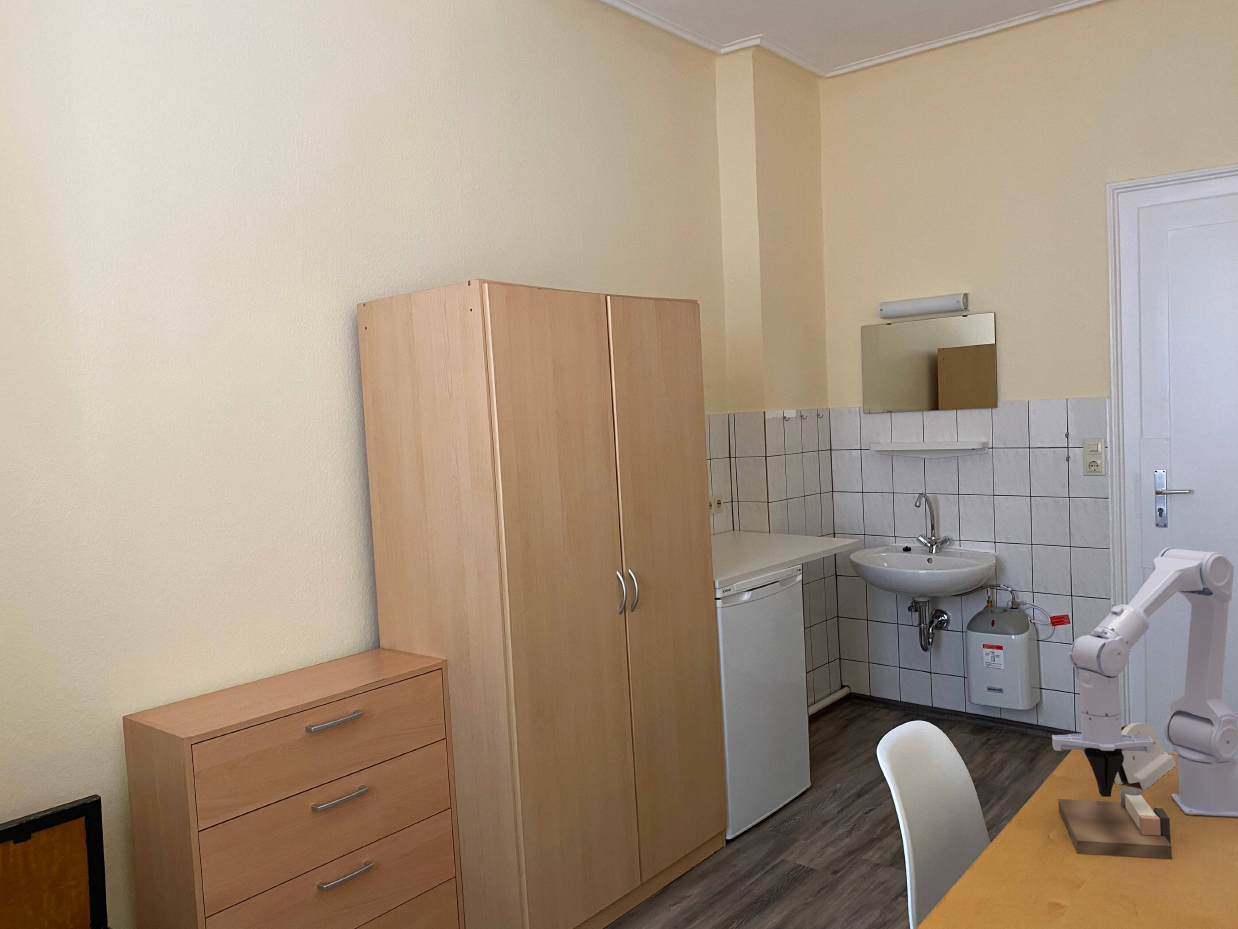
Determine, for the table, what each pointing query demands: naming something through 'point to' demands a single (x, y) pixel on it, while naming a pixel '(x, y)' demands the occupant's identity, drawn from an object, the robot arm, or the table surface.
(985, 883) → the table surface
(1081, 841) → the stool seat
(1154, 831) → the folding leg
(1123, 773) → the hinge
